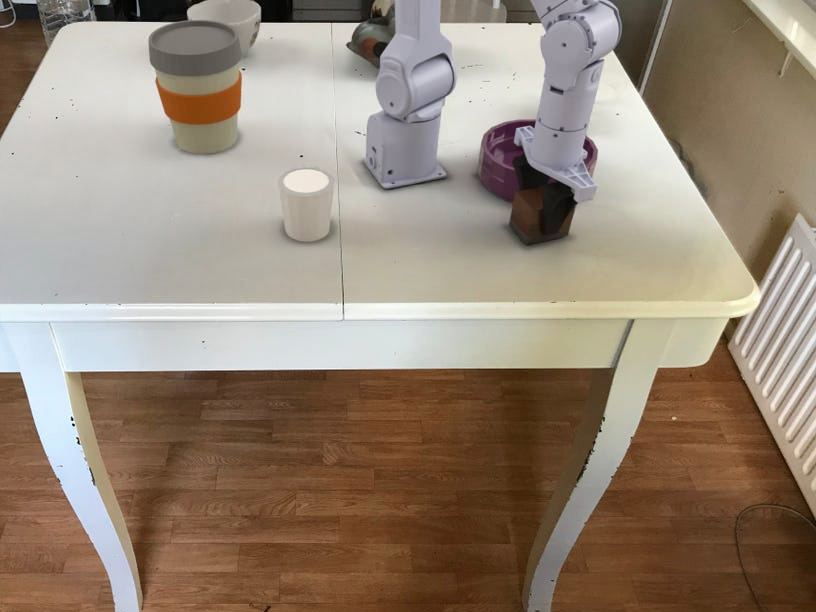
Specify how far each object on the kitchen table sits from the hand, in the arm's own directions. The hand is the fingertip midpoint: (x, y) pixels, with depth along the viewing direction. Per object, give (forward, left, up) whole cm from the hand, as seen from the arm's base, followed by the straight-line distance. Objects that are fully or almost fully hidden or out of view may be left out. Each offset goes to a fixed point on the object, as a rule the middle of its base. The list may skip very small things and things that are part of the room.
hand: (539, 221), depth 94 cm
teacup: (-24, +65, -2) cm, 69 cm away
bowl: (+6, +12, -2) cm, 13 cm away
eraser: (0, 0, -1) cm, 1 cm away
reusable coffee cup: (-34, +38, -2) cm, 51 cm away
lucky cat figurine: (+2, +54, -2) cm, 54 cm away
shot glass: (-27, +11, -2) cm, 29 cm away
